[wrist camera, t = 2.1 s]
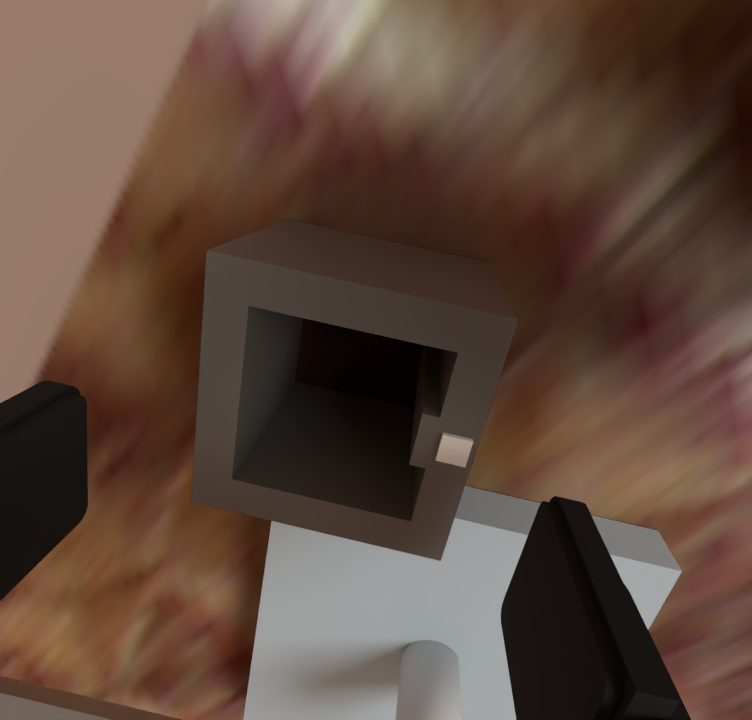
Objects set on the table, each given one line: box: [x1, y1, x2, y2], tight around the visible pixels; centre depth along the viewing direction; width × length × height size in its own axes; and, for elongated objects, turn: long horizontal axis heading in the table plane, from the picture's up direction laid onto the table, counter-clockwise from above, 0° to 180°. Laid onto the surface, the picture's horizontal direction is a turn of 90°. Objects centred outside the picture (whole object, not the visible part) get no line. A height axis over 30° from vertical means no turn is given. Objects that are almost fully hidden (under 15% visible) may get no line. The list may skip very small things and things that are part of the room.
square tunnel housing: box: [191, 219, 518, 561], centre depth 14 cm, size 7×7×6 cm
